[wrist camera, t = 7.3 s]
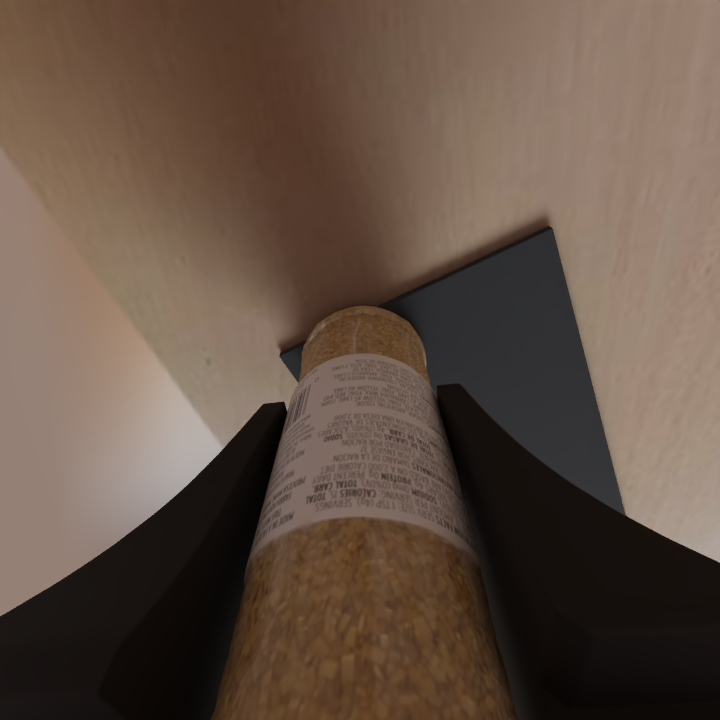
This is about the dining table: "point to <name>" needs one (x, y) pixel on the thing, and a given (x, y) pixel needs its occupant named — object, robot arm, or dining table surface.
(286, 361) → the mat
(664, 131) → the dining table surface
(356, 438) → the sprinkles bottle
